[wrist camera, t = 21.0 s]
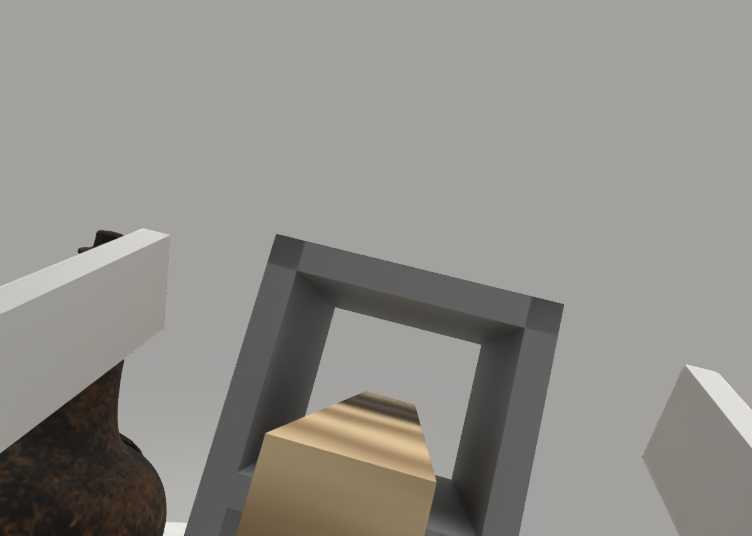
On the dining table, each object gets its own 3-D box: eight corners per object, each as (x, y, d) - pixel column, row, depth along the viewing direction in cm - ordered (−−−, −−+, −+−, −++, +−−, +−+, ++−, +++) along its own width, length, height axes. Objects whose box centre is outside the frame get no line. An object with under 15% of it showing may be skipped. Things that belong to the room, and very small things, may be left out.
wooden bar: (391, 680, 11) (436, 482, 12) (211, 620, 11) (265, 433, 12) (402, 457, 40) (414, 404, 41) (352, 442, 41) (365, 391, 41)
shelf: (418, 1043, 19) (564, 304, 24) (70, 904, 21) (276, 233, 26) (413, 764, 33) (506, 329, 38) (204, 692, 34) (321, 282, 39)
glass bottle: (181, 610, 43) (278, 284, 48) (-33, 743, 26) (152, 221, 31) (21, 535, 48) (124, 249, 53) (-241, 606, 32) (-55, 178, 37)
